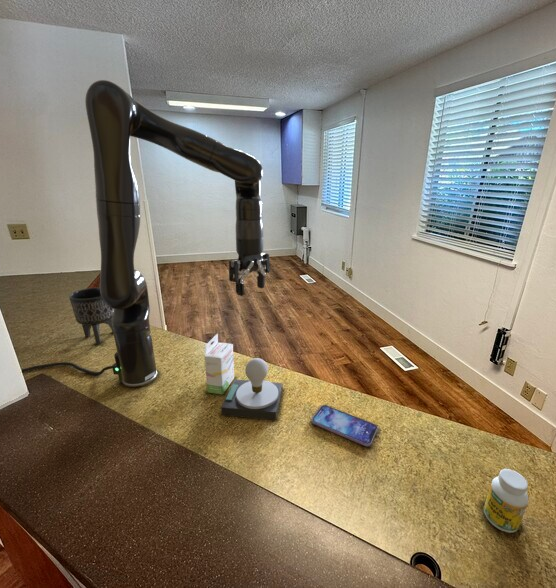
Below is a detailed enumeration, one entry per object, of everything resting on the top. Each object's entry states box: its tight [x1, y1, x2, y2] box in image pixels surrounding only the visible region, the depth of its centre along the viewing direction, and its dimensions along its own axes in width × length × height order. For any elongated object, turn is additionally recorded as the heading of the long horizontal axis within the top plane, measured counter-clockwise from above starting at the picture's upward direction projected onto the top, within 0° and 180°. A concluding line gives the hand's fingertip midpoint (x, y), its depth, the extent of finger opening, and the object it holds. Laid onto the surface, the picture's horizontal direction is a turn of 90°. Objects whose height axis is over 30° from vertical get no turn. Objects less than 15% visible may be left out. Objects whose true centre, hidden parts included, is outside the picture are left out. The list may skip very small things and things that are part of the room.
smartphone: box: [311, 404, 378, 447], centre depth 75 cm, size 7×1×15 cm
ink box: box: [204, 333, 235, 395], centre depth 86 cm, size 9×5×15 cm, turn 168°
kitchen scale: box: [220, 378, 283, 421], centre depth 82 cm, size 14×12×3 cm
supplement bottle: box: [483, 468, 529, 533], centre depth 53 cm, size 5×5×10 cm
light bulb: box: [244, 357, 269, 393], centre depth 80 cm, size 6×6×10 cm
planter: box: [68, 286, 114, 346], centre depth 111 cm, size 13×13×18 cm
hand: (251, 291), depth 89 cm, fingers open, 8 cm apart
